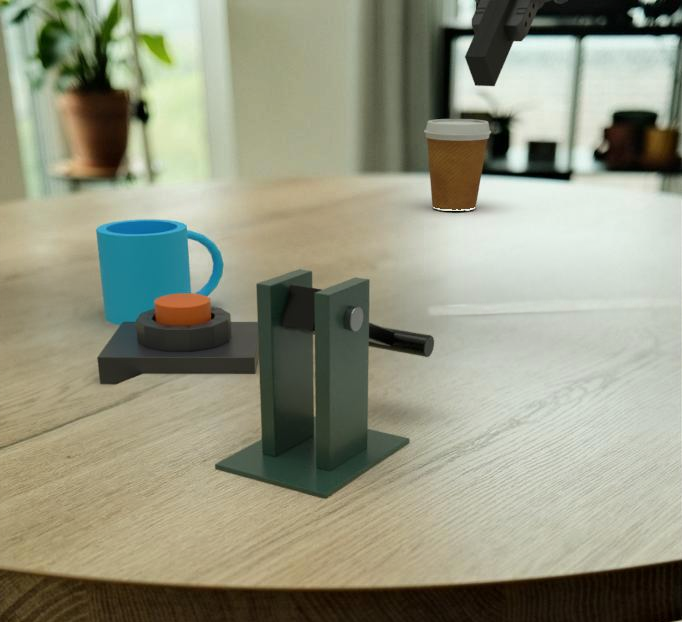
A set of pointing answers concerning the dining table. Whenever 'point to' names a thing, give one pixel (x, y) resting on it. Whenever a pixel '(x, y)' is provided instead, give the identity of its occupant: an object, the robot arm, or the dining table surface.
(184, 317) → the button
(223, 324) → the control block
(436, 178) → the disposable coffee cup
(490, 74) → the robot arm
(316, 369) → the green crank press stand
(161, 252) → the mug
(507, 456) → the dining table surface
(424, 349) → the switch lever
